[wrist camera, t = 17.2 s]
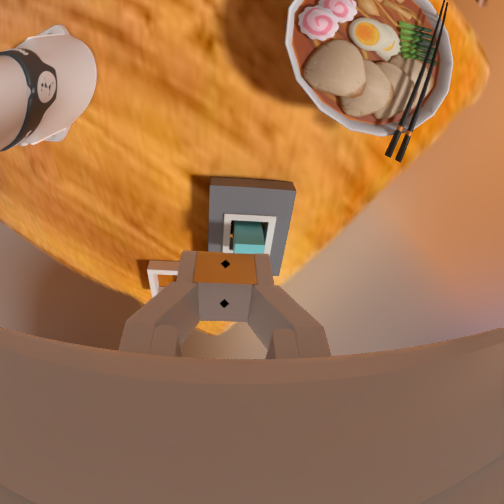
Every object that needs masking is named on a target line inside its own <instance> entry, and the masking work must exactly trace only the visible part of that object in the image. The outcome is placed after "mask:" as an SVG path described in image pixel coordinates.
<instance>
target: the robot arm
mask: <svg viewBox="0 0 504 504" xmlns="http://www.w3.org/2000/svg"><path fill="white" fill-rule="evenodd" d="M96 79H97V69H96V63H95V59H94V56H93V54H92V52H91V51H90V49H89V48H88V46H87V45H86V44H85V43H83V42H82V41H80V40H79V39H76V38H74V37H72V36H71V35H70V34H69V32H68V31H67V29H66V28H65V27H64V26H63V25H55V26H52V27H51V28H49V29H47V30H45V31H44V32H42V33H40V34H38V35H37V36H32V37H28V38H27V39H26V41H24V42H23V43H21V44H19V45H18V46H17V47H15V48H14V49H8V50H4V51H3V52H0V151H5V150H7V149H9V148H11V147H14V146H16V145H18V144H19V143H20V145H21V146H26V145H28V144H29V143H31V145H34V144H37V143H39V142H41V141H54V142H59V141H61V140H63V139H64V138H65V137H66V135H67V133H68V131H69V129H70V126H71V125H72V123H73V122H74V121H75V120H76V119H77V118H78V117H79V116H80V115H81V114H82V113H83V112H84V110H85V109H86V108H87V106H88V104H89V103H90V101H91V99H92V96H93V93H94V90H95V86H96ZM223 320H224V321H234V322H248V325H249V326H250V327H251V328H252V330H253V331H254V333H255V334H256V335H257V337H258V338H259V339H260V341H261V342H262V343H263V345H264V346H265V347H266V349H267V350H268V352H267V355H266V359H209V358H188V357H182V352H181V344H182V343H183V342H184V341H185V339H186V338H187V337H188V336H189V334H190V333H191V332H192V331H193V329H194V328H195V327H196V326H197V324H198V323H199V321H223ZM0 504H504V328H497V329H493V330H490V331H486V332H482V333H478V334H474V335H470V336H466V337H461V338H457V339H452V340H447V341H442V342H437V343H432V344H426V345H420V346H414V347H408V348H402V349H394V350H388V351H379V352H372V353H362V354H352V355H342V356H331V353H330V349H329V345H328V341H327V338H326V334H325V330H324V328H323V326H322V325H321V324H320V323H319V322H318V321H316V320H315V319H314V318H313V317H312V316H311V315H310V314H309V313H308V312H307V311H306V310H304V309H303V308H302V307H301V306H300V305H299V304H298V303H297V302H296V301H295V300H294V299H292V298H291V297H290V296H289V295H288V294H287V293H286V292H285V291H284V290H283V289H282V288H281V287H279V286H275V285H274V280H273V274H272V269H271V263H270V257H269V255H268V254H258V253H254V254H243V253H223V252H207V251H198V252H197V251H189V250H183V252H182V254H181V259H180V264H179V269H178V274H177V279H176V282H171V283H170V284H169V285H167V286H166V287H165V288H164V289H163V290H161V291H160V292H159V293H158V294H157V295H156V296H154V297H153V298H152V299H151V300H150V301H149V302H147V303H146V304H145V305H144V306H143V307H142V308H140V309H139V310H138V311H137V312H136V313H135V314H134V315H132V316H131V317H130V318H129V319H128V320H127V321H126V324H125V328H124V332H123V335H122V339H121V342H120V346H119V350H118V351H116V350H108V349H101V348H94V347H89V346H82V345H77V344H71V343H66V342H61V341H55V340H51V339H46V338H42V337H37V336H33V335H29V334H24V333H20V332H17V331H12V330H9V329H5V328H2V327H0Z"/></svg>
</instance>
